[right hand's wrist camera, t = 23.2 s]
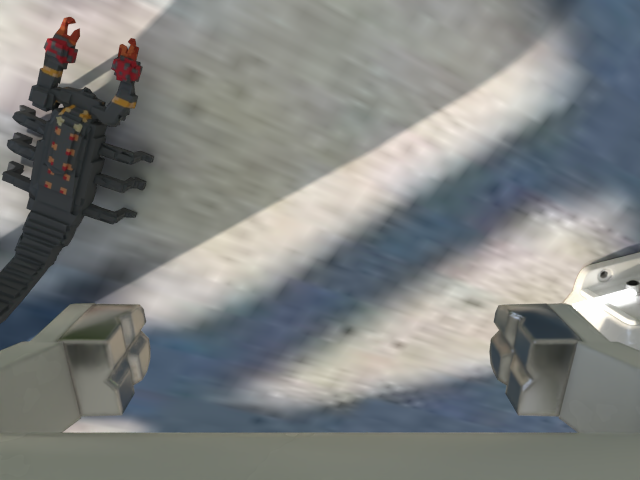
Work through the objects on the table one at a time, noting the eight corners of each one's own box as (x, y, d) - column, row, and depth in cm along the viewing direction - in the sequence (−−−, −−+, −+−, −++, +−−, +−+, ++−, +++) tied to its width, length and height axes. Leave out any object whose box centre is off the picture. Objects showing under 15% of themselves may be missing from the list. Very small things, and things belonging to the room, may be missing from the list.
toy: (-3, 241, 49) (-175, 332, 32) (44, -7, 41) (-157, -62, 23) (114, 285, 51) (11, 392, 34) (184, 57, 42) (92, 48, 25)
